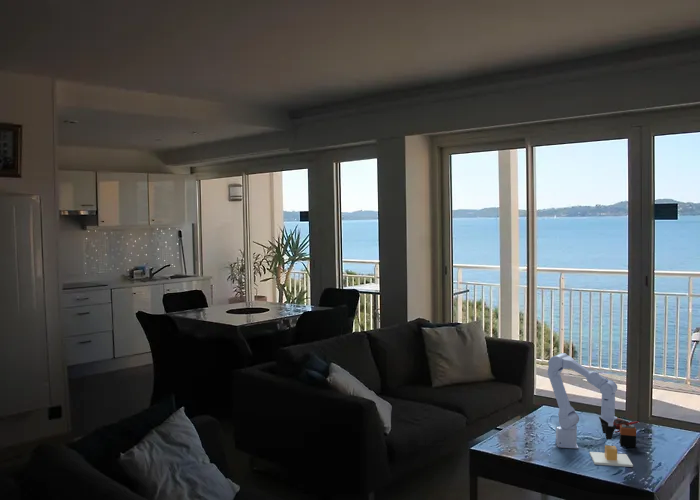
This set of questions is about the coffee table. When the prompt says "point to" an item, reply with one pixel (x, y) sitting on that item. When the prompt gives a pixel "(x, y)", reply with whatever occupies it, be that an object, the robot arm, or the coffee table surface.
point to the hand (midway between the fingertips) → (607, 436)
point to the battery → (628, 435)
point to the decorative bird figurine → (622, 423)
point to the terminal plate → (601, 460)
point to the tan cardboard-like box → (610, 452)
